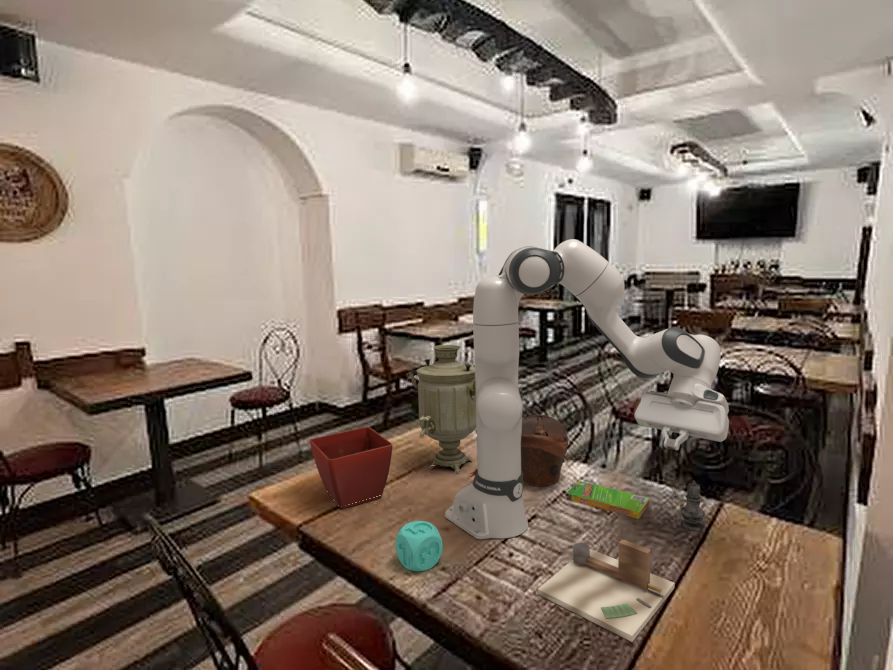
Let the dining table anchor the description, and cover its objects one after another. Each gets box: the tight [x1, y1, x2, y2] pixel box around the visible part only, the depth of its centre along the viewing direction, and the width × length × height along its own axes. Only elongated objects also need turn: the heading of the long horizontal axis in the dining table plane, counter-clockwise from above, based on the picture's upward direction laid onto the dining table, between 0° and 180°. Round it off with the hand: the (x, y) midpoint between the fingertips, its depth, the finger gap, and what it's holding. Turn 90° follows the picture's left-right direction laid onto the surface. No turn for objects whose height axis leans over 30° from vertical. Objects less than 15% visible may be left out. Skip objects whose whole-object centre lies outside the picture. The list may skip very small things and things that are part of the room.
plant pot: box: [309, 426, 393, 510], centre depth 152 cm, size 19×19×17 cm
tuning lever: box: [572, 539, 662, 593], centre depth 109 cm, size 19×4×8 cm, turn 46°
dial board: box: [537, 548, 676, 643], centre depth 107 cm, size 20×20×1 cm
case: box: [521, 414, 569, 487], centre depth 160 cm, size 18×20×18 cm
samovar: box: [406, 344, 477, 475], centre depth 169 cm, size 30×26×40 cm
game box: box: [566, 480, 651, 520], centre depth 144 cm, size 3×10×20 cm
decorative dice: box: [394, 520, 444, 572], centre depth 119 cm, size 8×8×8 cm
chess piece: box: [679, 480, 707, 532], centre depth 130 cm, size 6×6×12 cm
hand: (670, 447), depth 118 cm, fingers closed
